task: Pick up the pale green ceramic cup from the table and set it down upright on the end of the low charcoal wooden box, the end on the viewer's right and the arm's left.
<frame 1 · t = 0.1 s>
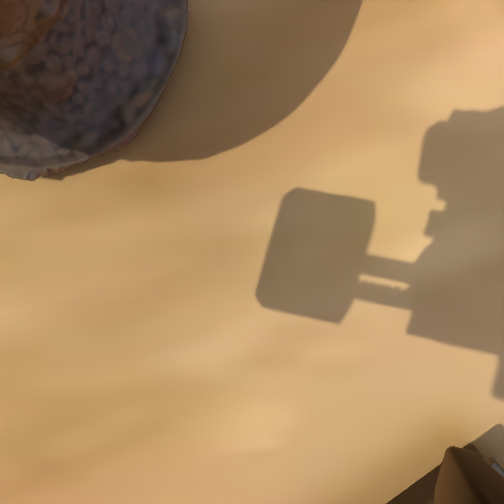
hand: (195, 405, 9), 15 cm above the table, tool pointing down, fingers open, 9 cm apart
decorative urn: (62, 32, 27), on the table
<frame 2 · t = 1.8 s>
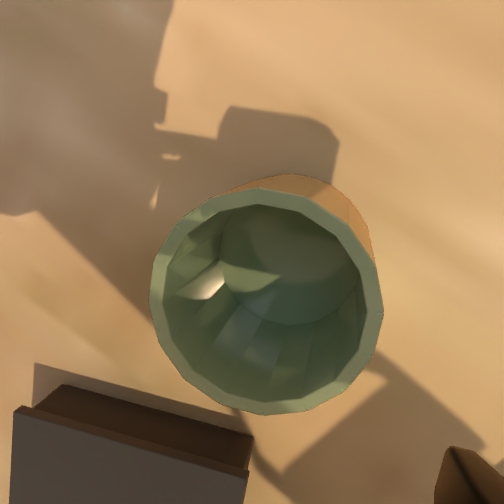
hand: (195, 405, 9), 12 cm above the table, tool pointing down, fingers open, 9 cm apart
cup: (289, 254, 20), on the table
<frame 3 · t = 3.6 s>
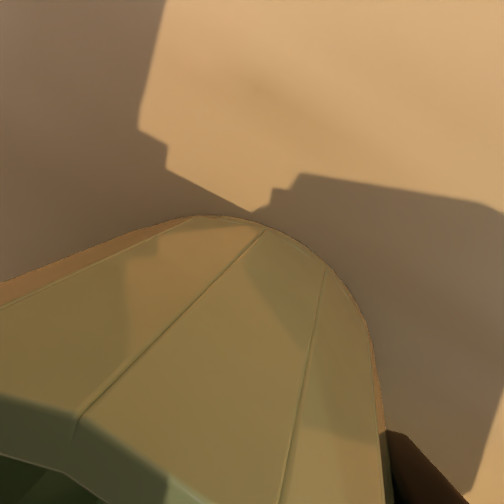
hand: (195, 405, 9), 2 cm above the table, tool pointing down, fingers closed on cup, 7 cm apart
cup: (216, 367, 10), on the table, touching gripper
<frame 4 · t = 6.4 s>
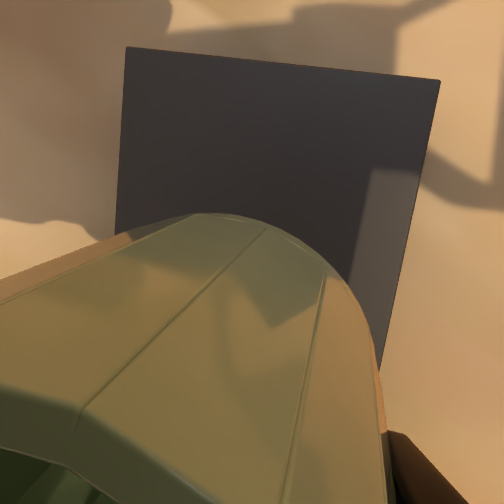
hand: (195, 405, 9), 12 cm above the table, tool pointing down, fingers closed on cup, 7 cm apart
cup: (217, 365, 10), point 11 cm above the table, touching gripper
box: (259, 275, 21), on the table
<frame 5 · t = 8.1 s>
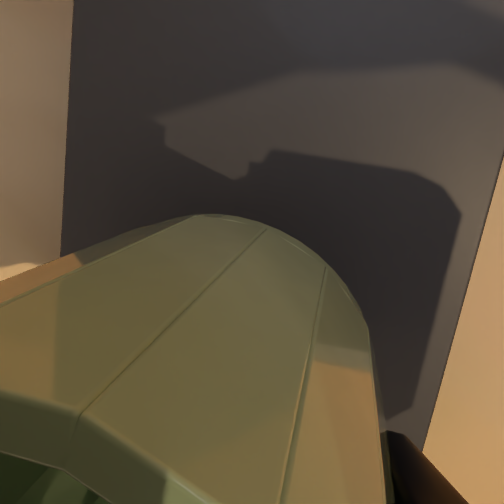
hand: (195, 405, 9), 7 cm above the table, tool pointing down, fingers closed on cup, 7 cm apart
cup: (216, 366, 10), point 6 cm above the table, touching gripper
box: (277, 187, 15), on the table
when the fingers open (5 cm above the table, at t = 9.4 s): cup stays where it is, resting on box.
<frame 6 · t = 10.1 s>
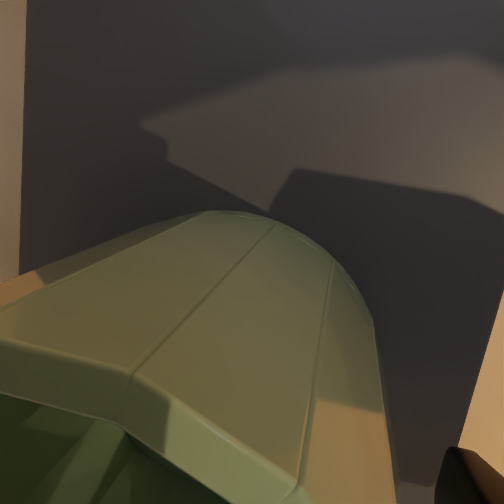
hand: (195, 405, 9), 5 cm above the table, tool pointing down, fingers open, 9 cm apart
cup: (226, 356, 11), point 3 cm above the table, touching box
box: (271, 192, 13), on the table
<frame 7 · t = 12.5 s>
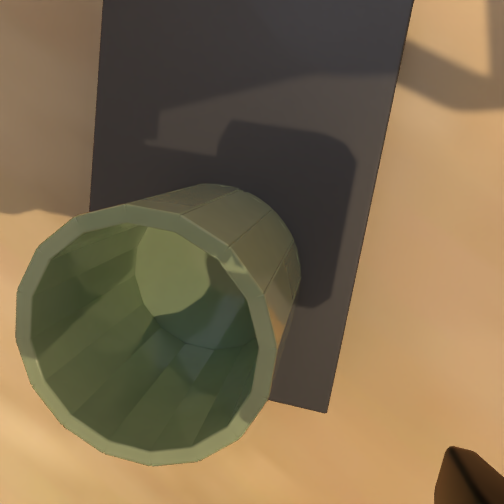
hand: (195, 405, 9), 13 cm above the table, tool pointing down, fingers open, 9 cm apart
cup: (214, 271, 18), point 3 cm above the table, touching box
box: (243, 176, 21), on the table
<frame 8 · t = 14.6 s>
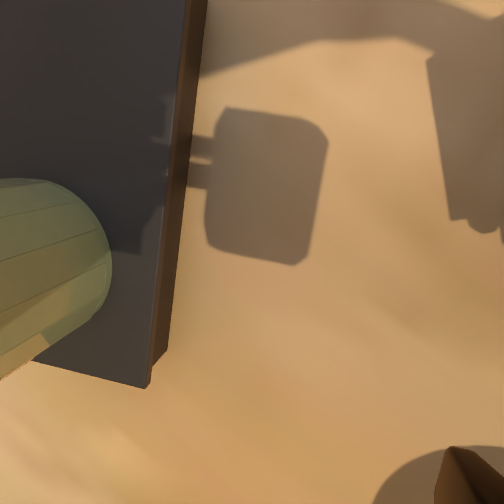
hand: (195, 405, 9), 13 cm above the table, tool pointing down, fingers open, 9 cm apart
cup: (39, 258, 20), point 3 cm above the table, touching box
box: (85, 172, 22), on the table
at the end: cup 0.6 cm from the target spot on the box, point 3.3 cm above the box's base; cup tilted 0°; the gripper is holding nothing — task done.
